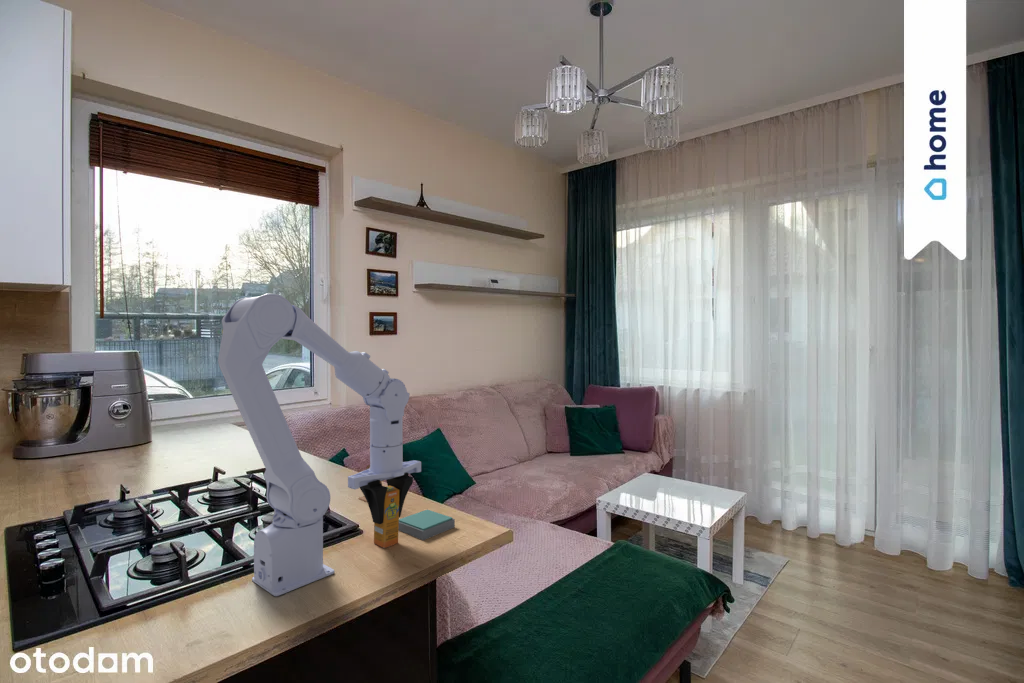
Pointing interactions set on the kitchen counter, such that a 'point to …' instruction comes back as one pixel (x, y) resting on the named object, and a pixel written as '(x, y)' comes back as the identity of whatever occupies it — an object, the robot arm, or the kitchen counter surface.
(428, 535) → the podium
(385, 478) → the robot arm
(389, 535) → the supplement box
